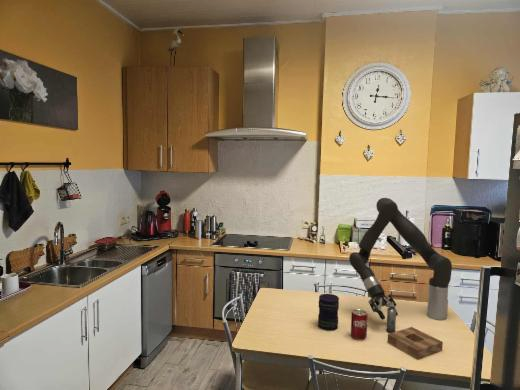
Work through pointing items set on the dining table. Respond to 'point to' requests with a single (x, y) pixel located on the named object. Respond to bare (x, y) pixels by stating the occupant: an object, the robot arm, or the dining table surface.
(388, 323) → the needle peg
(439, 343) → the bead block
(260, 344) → the dining table surface
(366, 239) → the robot arm
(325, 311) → the storage jar
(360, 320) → the soda can
